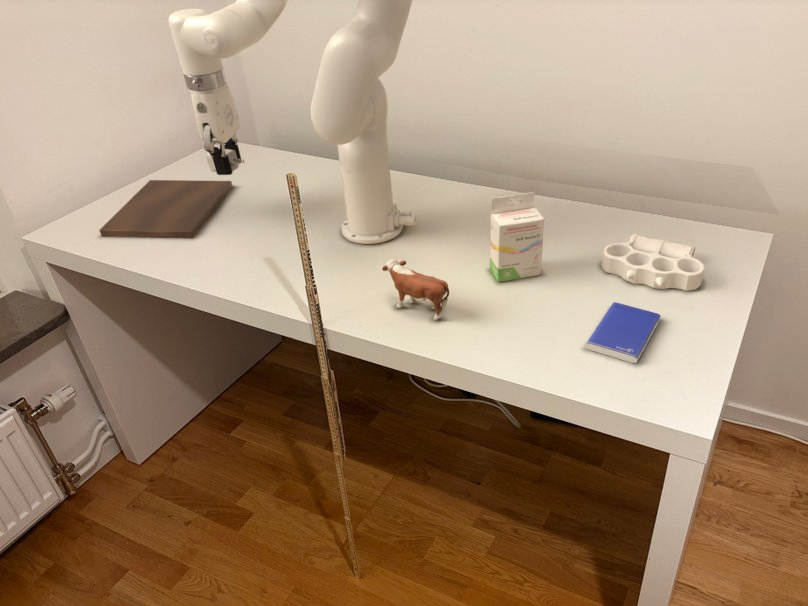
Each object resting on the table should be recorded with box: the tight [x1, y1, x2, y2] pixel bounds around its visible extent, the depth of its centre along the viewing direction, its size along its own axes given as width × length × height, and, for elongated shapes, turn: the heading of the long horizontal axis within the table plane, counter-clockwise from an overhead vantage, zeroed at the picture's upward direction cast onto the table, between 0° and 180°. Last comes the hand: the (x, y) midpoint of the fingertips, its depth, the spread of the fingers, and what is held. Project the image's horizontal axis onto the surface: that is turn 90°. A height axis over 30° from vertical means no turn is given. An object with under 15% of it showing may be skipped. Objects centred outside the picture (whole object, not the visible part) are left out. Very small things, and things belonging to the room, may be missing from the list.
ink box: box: [489, 191, 545, 283], centre depth 124 cm, size 9×5×15 cm, turn 105°
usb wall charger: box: [205, 147, 245, 173], centre depth 143 cm, size 4×7×4 cm, turn 65°
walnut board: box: [98, 179, 234, 239], centre depth 153 cm, size 20×24×2 cm
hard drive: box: [585, 301, 661, 364], centre depth 112 cm, size 2×8×12 cm
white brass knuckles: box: [601, 233, 705, 292], centre depth 126 cm, size 3×18×15 cm
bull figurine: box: [381, 258, 450, 321], centre depth 118 cm, size 4×13×8 cm, turn 55°
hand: (229, 167), depth 144 cm, fingers closed on usb wall charger, 4 cm apart
